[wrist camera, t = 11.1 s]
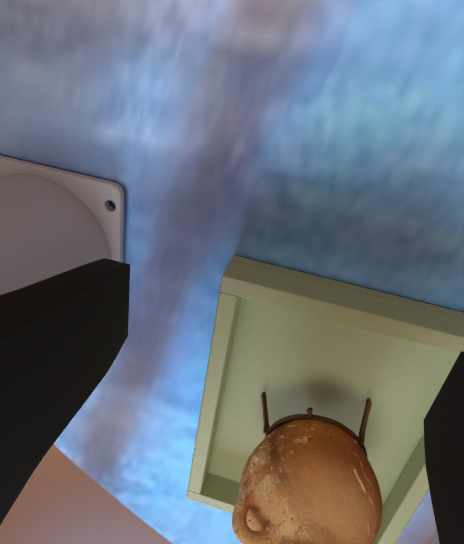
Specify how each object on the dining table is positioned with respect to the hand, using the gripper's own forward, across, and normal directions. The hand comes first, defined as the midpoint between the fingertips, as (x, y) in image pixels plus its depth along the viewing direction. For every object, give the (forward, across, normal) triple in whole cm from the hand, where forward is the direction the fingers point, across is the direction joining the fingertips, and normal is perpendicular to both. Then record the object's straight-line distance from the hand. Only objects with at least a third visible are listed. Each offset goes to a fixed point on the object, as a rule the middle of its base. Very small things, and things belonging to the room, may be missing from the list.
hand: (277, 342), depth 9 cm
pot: (+9, -3, +11) cm, 15 cm away
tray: (+9, -3, +11) cm, 15 cm away
